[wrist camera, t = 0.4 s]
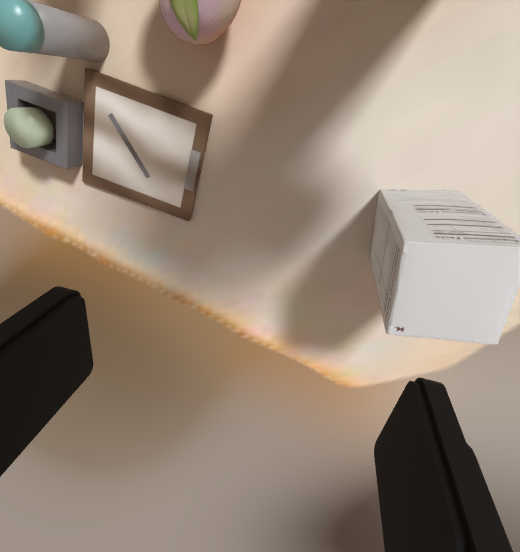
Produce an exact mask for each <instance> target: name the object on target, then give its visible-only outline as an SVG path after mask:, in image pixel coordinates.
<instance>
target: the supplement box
mask: <svg viewBox="0 0 520 552" xmlns="http://www.w3.org/2000/svg"><path fill="white" fill-rule="evenodd" d="M370 259H371V264H372V269H373V273H374V278H375V282H376V287H377V292H378V296H379V301H380V307H381V311H382V316H383V321H384V326H385V330H386V333H387V334H391V335H400V336H410V337H420V338H431V339H441V340H452V341H462V342H472V343H482V344H498V341H499V339H500V336H501V333H502V331H503V328H504V325H505V323H506V320H507V317H508V315H509V312H510V310H511V307H512V304H513V302H514V299H515V297H516V294H517V291H518V289H519V286H520V235H518V234H517V233H516V232H514V231H513V230H512V229H510V228H509V227H507V226H506V225H505V224H503V223H502V222H501V221H500V220H498V219H497V218H496V217H494V216H493V215H492V214H490V213H489V212H488V211H486V210H485V209H484V208H482V207H481V206H480V205H478V204H477V203H475V202H474V201H473V200H471V199H470V198H469V197H467V196H466V195H465V194H463V193H462V192H461V191H455V190H406V189H380V190H379V194H378V200H377V207H376V215H375V223H374V231H373V238H372V245H371V253H370Z"/></svg>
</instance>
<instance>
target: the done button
mask: <svg viewBox="0 0 520 552" xmlns="http://www.w3.org/2000/svg"><path fill="white" fill-rule="evenodd" d="M4 125H5V128H6V131H7V133H8V135H9V136H10V138H11V139H12V140H13V141H14V142H15V143H16V144H18V145H19V146H21V147H23V148H33V147H39V146H44V145H48V144H50V143H51V141H52V140H53V137H54V130H53V126H52V123H51V121H50V119H49V118H48V116H47V115H46V114H45V113H44V112H43V111H41V110H40V109H38V108H35V107H19V108H10V109H9V110H7V112H6V113H5V116H4Z"/></svg>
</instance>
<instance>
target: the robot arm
mask: <svg viewBox="0 0 520 552" xmlns="http://www.w3.org/2000/svg"><path fill="white" fill-rule="evenodd" d="M92 368H93V358H92V350H91V343H90V336H89V329H88V321H87V315H86V307H85V301H84V299H83V298H82V297H81V295H80V293H79V292H78V291H75V290H71V289H67V288H64V287H60V286H58V287H54V288H52V289H51V290H49V291H48V292H46V293H45V294H43V295H42V296H40V297H39V298H37V299H36V300H35V301H33V302H32V303H30V304H29V305H27V306H26V307H24V308H23V309H21V310H20V311H18V312H17V313H16V314H14V315H13V316H11V317H10V318H8V319H7V320H5V321H4V322H2V323H1V324H0V476H1V475H2V474H3V473H4V472H5V471H6V470H7V468H8V467H9V466H10V465H11V464H12V463H13V462H14V460H15V459H16V458H17V457H18V456H19V455H20V454H21V452H22V451H23V450H24V449H25V448H26V447H27V445H28V444H29V443H30V442H31V441H32V440H33V439H34V437H35V436H36V435H37V434H38V433H39V432H40V431H41V430H42V428H43V427H44V426H45V425H46V424H47V423H48V422H49V420H50V419H51V418H52V417H53V416H54V415H55V414H56V412H57V411H58V410H59V409H60V408H61V407H62V406H63V404H64V403H65V402H66V401H67V400H68V399H69V398H70V396H71V395H72V394H73V393H74V392H75V391H76V390H77V389H78V387H79V386H80V385H81V384H82V383H83V382H84V381H85V379H86V378H87V377H88V376H89V375H90V373H91V371H92ZM374 457H375V466H376V475H377V484H378V493H379V502H380V512H381V521H382V530H383V538H384V547H385V552H513V551H512V548H511V546H510V543H509V540H508V538H507V535H506V533H505V530H504V528H503V525H502V523H501V520H500V517H499V515H498V512H497V510H496V507H495V505H494V502H493V500H492V497H491V494H490V492H489V490H488V487H487V484H486V482H485V479H484V477H483V474H482V472H481V469H480V467H479V464H478V461H477V459H476V456H475V454H474V452H473V450H472V448H471V447H470V446H469V445H468V444H467V443H466V441H465V438H464V436H463V433H462V430H461V428H460V425H459V423H458V420H457V417H456V414H455V412H454V409H453V407H452V404H451V401H450V399H449V396H448V393H447V391H446V388H445V386H444V385H443V384H442V383H439V382H435V381H431V380H427V379H424V378H417V379H416V380H415V382H413V381H409V382H408V384H407V385H406V387H405V389H404V391H403V393H402V395H401V396H400V398H399V400H398V402H397V404H396V406H395V407H394V409H393V411H392V413H391V415H390V417H389V418H388V420H387V422H386V424H385V426H384V428H383V430H382V431H381V433H380V435H379V437H378V439H377V441H376V444H375V448H374Z"/></svg>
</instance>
